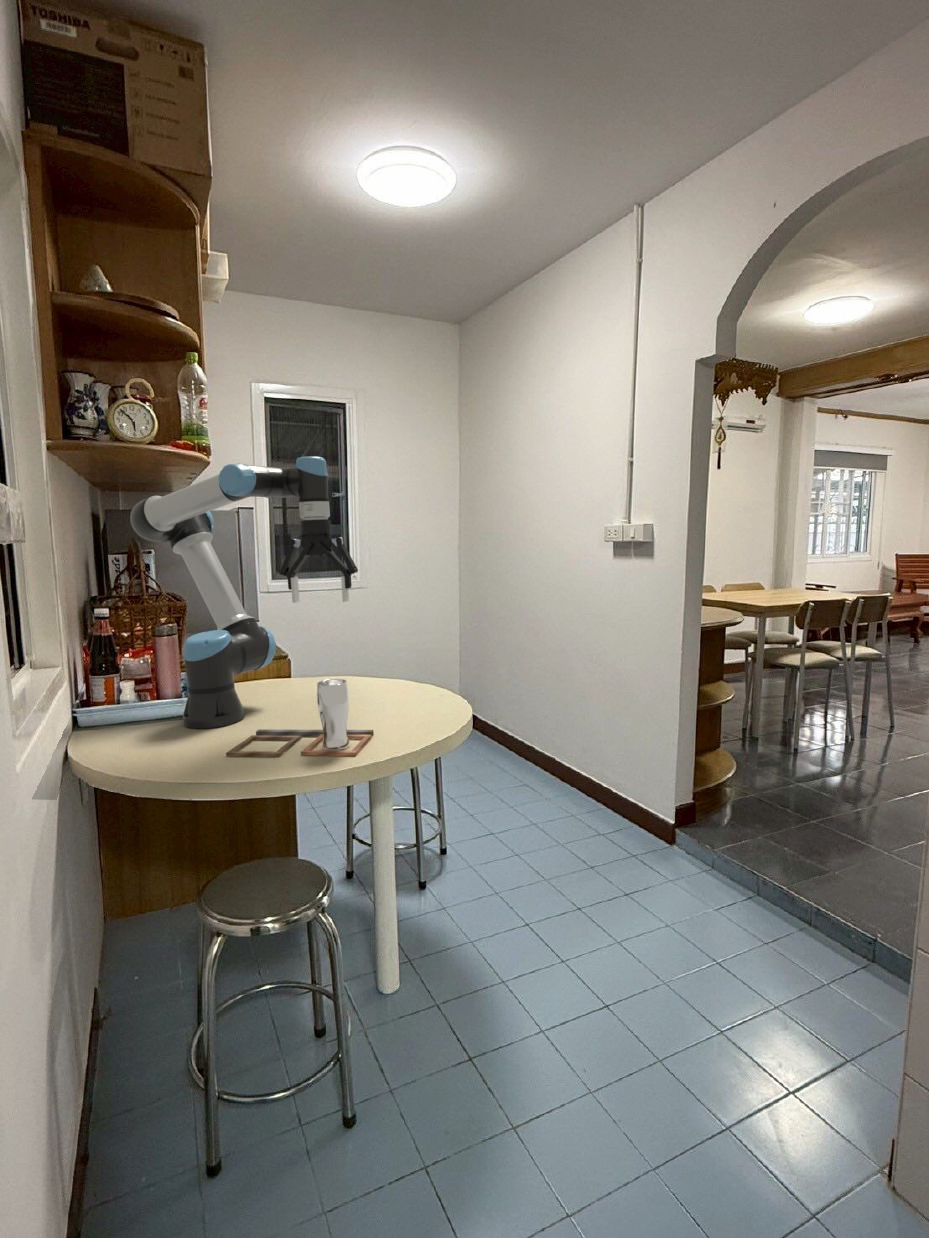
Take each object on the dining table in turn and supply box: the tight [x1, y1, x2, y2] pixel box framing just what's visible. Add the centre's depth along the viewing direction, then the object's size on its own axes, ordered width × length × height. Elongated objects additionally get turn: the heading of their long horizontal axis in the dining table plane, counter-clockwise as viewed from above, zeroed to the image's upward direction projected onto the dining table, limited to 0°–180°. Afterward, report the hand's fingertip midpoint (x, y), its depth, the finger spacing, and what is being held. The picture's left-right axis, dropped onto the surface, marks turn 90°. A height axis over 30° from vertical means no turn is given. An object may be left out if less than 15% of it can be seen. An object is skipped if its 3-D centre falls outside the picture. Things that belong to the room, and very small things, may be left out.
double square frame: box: [225, 729, 374, 758], centre depth 151 cm, size 29×16×1 cm, turn 82°
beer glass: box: [316, 678, 351, 751], centre depth 148 cm, size 7×7×15 cm
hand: (320, 601), depth 170 cm, fingers open, 13 cm apart
